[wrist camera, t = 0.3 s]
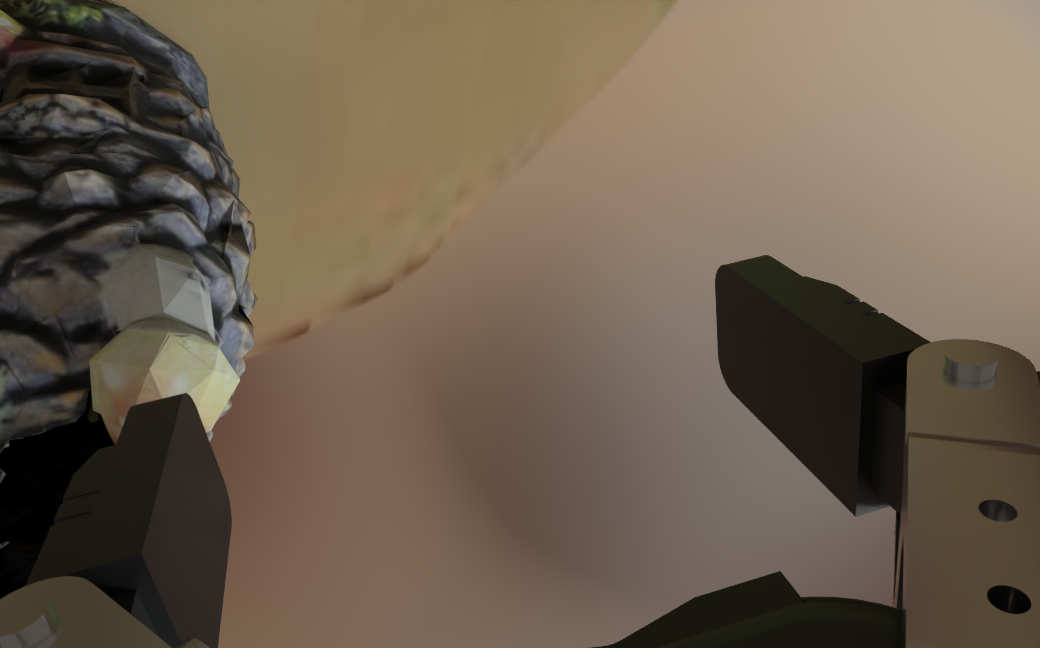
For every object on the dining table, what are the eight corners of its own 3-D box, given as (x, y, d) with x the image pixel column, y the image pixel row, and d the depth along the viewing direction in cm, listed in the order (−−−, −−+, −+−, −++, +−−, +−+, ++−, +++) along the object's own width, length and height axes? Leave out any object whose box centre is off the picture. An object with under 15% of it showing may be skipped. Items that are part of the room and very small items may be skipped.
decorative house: (-46, -137, 31) (-300, 286, 13) (308, 68, 40) (423, 470, 23) (-208, 259, 38) (-498, 843, 21) (119, 352, 48) (100, 809, 31)
